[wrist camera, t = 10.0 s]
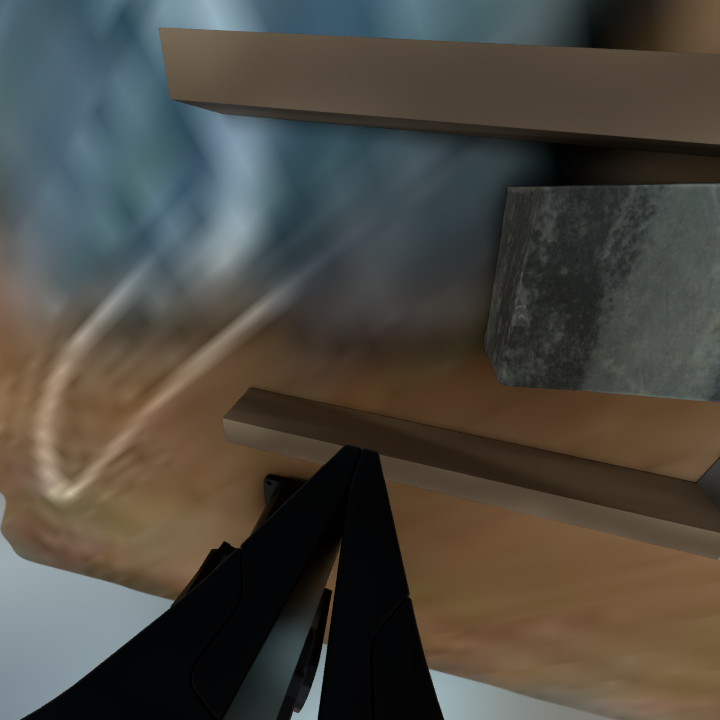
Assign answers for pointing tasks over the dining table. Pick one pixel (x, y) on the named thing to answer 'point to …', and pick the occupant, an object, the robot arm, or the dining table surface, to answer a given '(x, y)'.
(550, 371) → the stone block
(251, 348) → the dining table surface
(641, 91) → the chute
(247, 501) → the dining table surface
